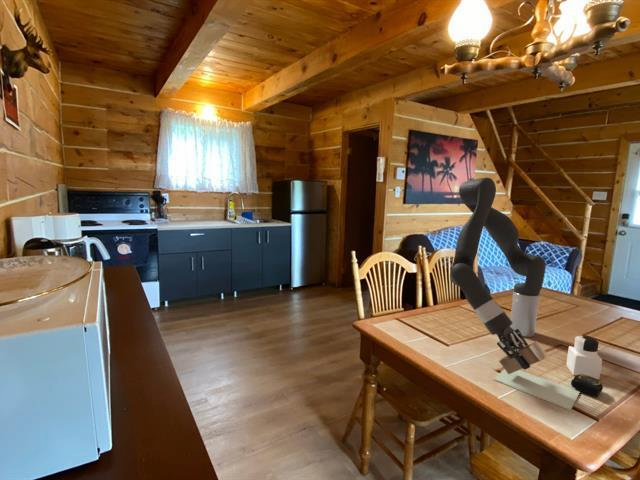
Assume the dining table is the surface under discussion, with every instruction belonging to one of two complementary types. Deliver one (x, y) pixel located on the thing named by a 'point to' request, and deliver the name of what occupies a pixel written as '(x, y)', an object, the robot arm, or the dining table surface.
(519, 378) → the sage mat
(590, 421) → the dining table surface
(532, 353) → the walnut block
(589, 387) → the tape measure
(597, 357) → the medicine bottle
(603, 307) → the dining table surface
